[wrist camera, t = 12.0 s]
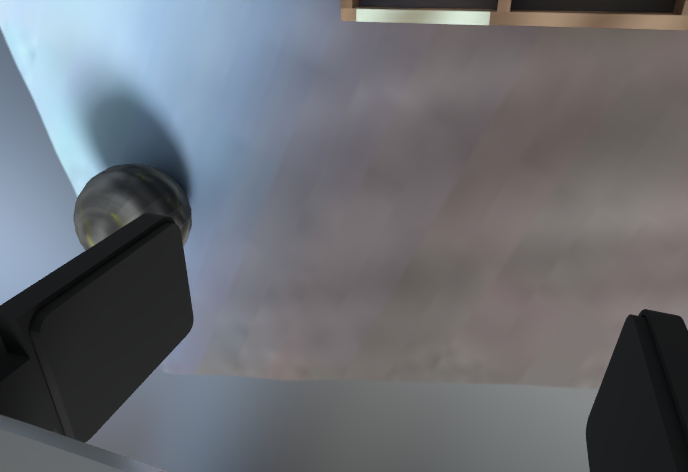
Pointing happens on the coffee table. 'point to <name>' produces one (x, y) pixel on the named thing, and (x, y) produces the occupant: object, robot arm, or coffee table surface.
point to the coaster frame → (519, 16)
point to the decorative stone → (128, 202)
